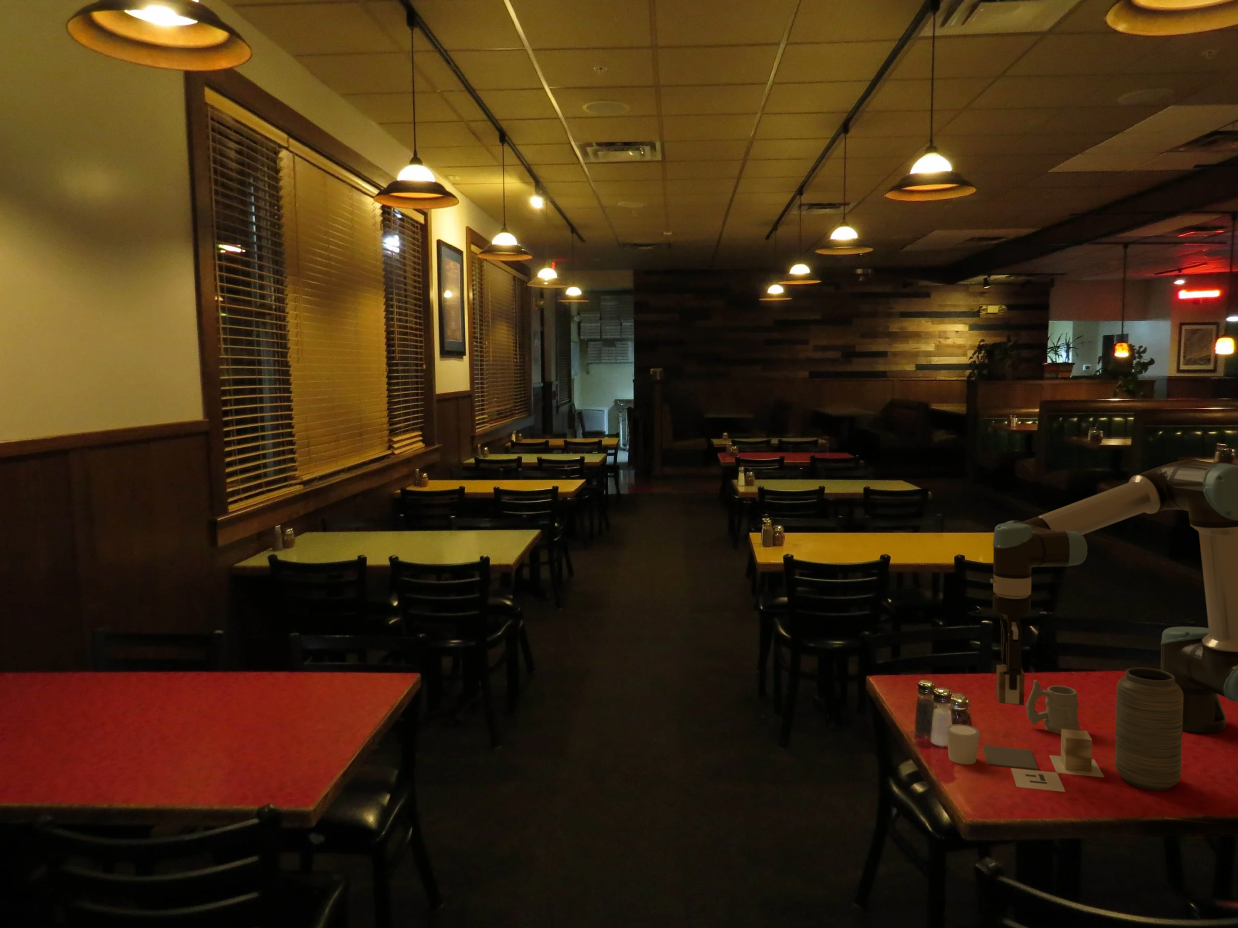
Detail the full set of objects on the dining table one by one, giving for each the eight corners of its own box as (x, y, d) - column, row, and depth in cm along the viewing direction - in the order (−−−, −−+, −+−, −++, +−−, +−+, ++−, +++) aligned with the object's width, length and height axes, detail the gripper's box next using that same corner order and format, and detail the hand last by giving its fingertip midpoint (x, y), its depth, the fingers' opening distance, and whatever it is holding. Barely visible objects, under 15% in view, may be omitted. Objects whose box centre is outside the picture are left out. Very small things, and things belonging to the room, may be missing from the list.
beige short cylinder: (976, 769, 184) (976, 737, 184) (942, 762, 188) (943, 731, 187) (981, 757, 190) (981, 727, 190) (949, 751, 194) (949, 721, 193)
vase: (1191, 796, 170) (1195, 684, 168) (1128, 793, 172) (1130, 682, 170) (1165, 771, 181) (1168, 665, 179) (1105, 768, 183) (1108, 664, 181)
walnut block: (1020, 697, 190) (1021, 666, 189) (1023, 705, 185) (1024, 673, 184) (996, 695, 191) (996, 664, 190) (998, 702, 186) (999, 671, 186)
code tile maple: (1094, 760, 187) (1094, 759, 187) (1104, 778, 179) (1104, 776, 179) (1049, 756, 190) (1049, 754, 190) (1056, 773, 181) (1056, 772, 181)
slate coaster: (1030, 752, 192) (1030, 749, 192) (1038, 770, 183) (1038, 768, 183) (982, 747, 195) (982, 745, 195) (987, 766, 186) (987, 763, 186)
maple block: (1086, 761, 186) (1086, 730, 185) (1091, 771, 181) (1092, 739, 180) (1060, 759, 187) (1061, 728, 187) (1065, 769, 183) (1065, 737, 182)
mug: (1084, 737, 200) (1085, 687, 199) (1030, 734, 202) (1031, 685, 201) (1073, 724, 207) (1074, 676, 206) (1021, 722, 209) (1022, 674, 208)
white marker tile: (1056, 773, 181) (1056, 772, 181) (1065, 792, 173) (1065, 791, 173) (1010, 769, 184) (1010, 767, 184) (1016, 787, 175) (1016, 786, 175)
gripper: (988, 584, 196) (986, 683, 198) (998, 603, 179) (996, 711, 180) (1024, 586, 193) (1022, 686, 195) (1037, 605, 176) (1035, 714, 178)
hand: (1010, 698), depth 188 cm, fingers closed on walnut block, 5 cm apart
